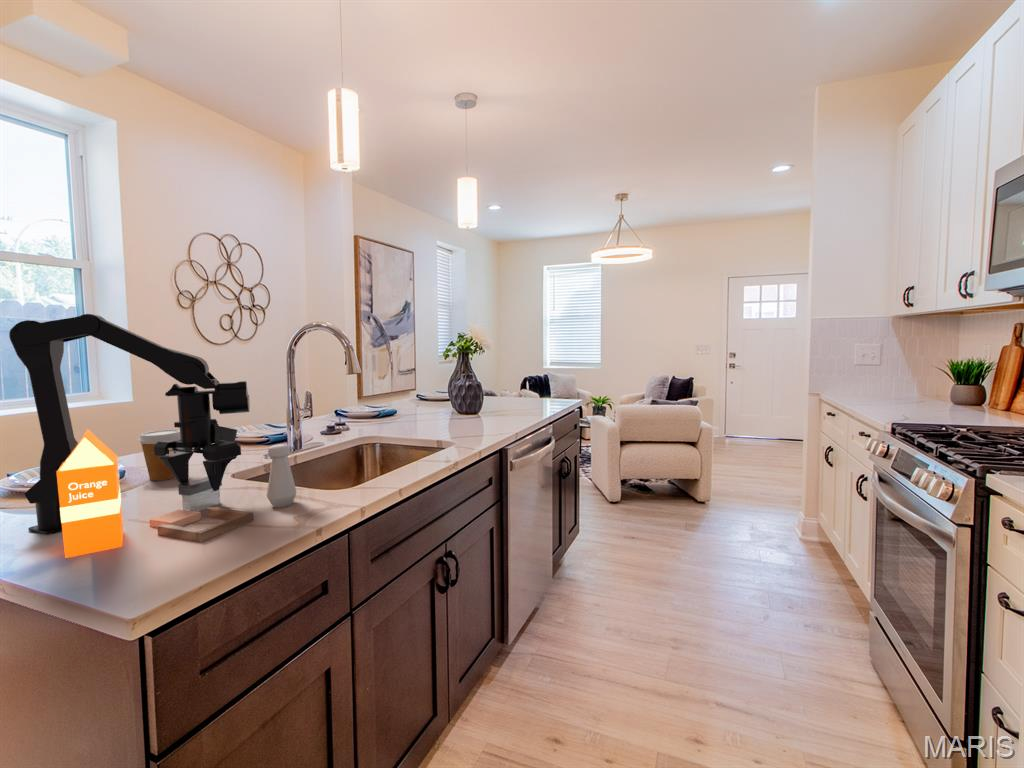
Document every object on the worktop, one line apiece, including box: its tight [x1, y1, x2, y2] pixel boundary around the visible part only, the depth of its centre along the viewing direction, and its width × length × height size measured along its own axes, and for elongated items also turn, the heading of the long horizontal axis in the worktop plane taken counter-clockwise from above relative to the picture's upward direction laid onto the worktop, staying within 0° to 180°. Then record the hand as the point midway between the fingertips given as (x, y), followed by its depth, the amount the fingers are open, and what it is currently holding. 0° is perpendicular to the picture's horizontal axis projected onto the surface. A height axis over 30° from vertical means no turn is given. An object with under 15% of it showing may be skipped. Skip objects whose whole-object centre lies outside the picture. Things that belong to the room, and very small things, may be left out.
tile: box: [149, 509, 202, 528], centre depth 99 cm, size 6×6×2 cm
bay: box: [156, 506, 255, 543], centre depth 96 cm, size 11×11×2 cm
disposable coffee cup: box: [138, 429, 180, 481], centre depth 133 cm, size 10×10×12 cm
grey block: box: [177, 476, 223, 512], centre depth 108 cm, size 3×8×6 cm, turn 160°
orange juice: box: [57, 429, 125, 559], centre depth 88 cm, size 8×9×20 cm
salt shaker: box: [266, 443, 297, 508], centre depth 109 cm, size 6×6×13 cm
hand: (200, 488), depth 107 cm, fingers open, 9 cm apart
